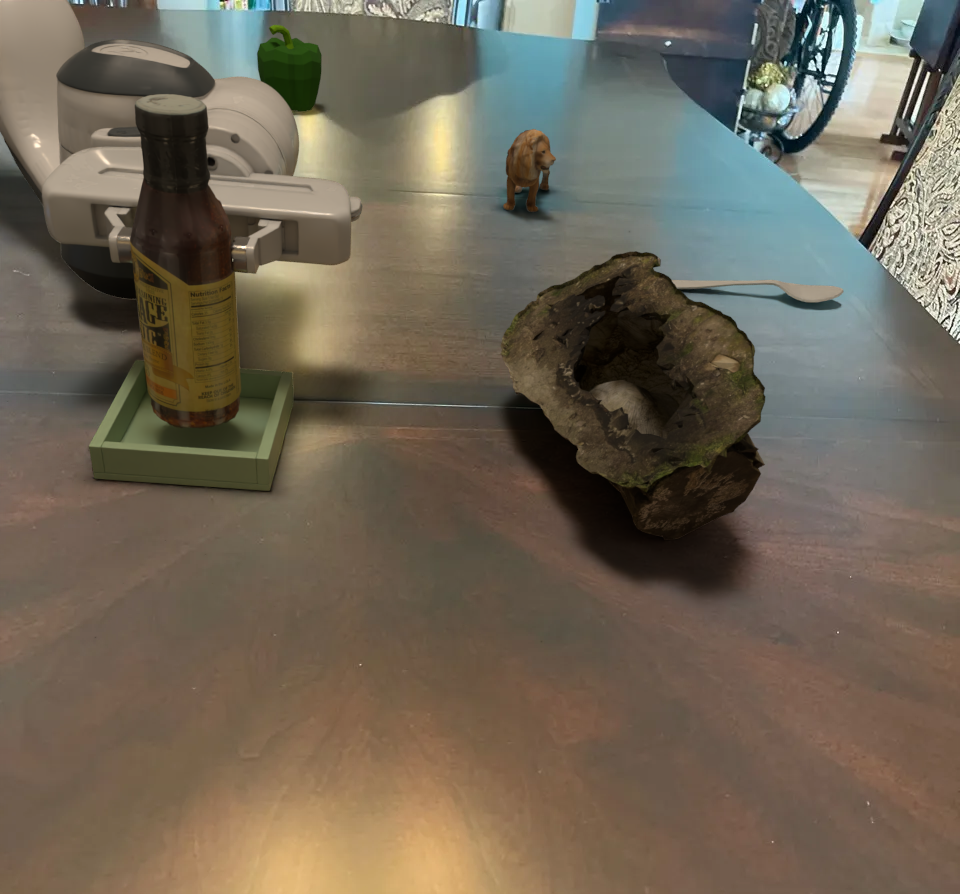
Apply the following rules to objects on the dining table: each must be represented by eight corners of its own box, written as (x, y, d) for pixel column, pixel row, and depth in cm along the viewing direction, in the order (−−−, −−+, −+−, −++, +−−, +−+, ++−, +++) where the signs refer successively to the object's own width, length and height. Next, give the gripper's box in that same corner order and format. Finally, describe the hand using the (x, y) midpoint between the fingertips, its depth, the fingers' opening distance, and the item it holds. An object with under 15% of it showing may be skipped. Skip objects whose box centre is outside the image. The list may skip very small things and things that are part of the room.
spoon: (843, 313, 103) (848, 296, 102) (635, 291, 103) (638, 275, 102) (834, 296, 107) (839, 280, 105) (632, 275, 106) (635, 259, 105)
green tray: (93, 478, 70) (88, 445, 68) (139, 390, 79) (135, 359, 78) (269, 491, 70) (268, 458, 69) (293, 402, 80) (293, 371, 78)
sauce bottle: (143, 397, 74) (102, 86, 62) (232, 388, 76) (209, 85, 64) (160, 441, 69) (119, 114, 57) (254, 430, 72) (234, 113, 59)
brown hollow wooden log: (680, 641, 70) (881, 503, 64) (566, 538, 62) (783, 372, 57) (580, 420, 90) (726, 301, 84) (484, 322, 82) (638, 184, 77)
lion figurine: (547, 225, 115) (559, 137, 109) (499, 220, 115) (508, 132, 109) (549, 183, 126) (560, 102, 120) (505, 178, 126) (514, 97, 120)
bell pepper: (315, 100, 145) (314, 18, 139) (327, 117, 140) (327, 32, 133) (254, 100, 143) (250, 16, 136) (264, 117, 137) (260, 30, 131)
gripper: (363, 240, 79) (348, 317, 68) (86, 217, 78) (27, 292, 67) (365, 151, 75) (348, 219, 64) (72, 126, 74) (6, 190, 63)
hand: (181, 256), depth 66 cm, fingers closed on sauce bottle, 6 cm apart
